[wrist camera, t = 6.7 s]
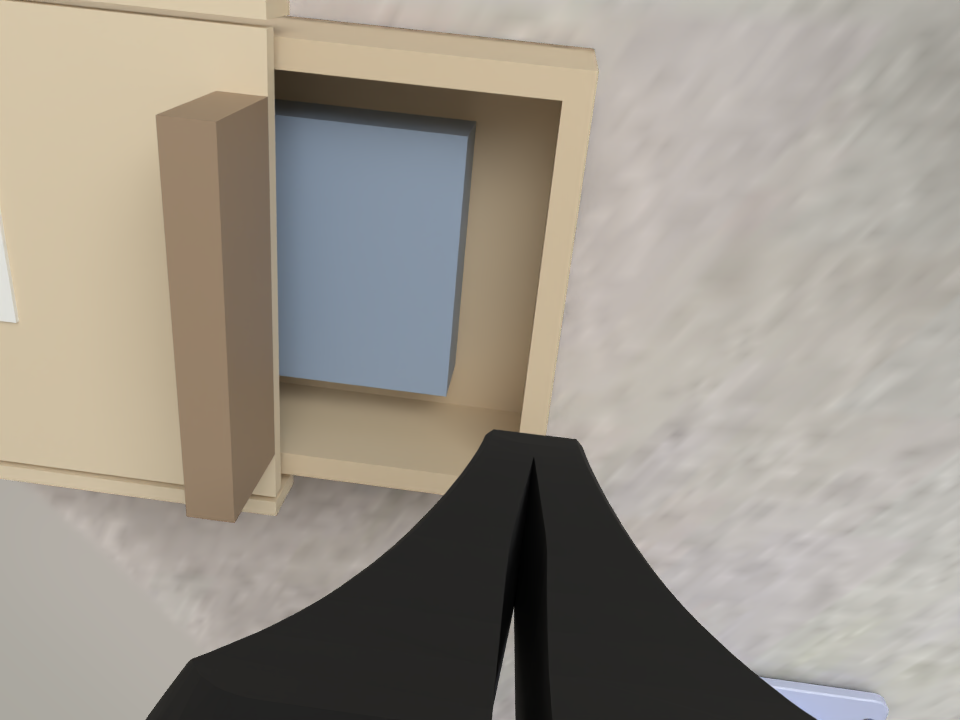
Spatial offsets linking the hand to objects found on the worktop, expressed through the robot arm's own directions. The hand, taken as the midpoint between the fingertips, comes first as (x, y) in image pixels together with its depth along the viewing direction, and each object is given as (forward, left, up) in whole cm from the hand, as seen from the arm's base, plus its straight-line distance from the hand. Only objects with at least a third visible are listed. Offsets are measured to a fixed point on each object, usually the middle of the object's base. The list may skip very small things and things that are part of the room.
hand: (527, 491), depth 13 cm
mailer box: (0, +7, -10) cm, 12 cm away
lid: (0, +13, -7) cm, 15 cm away
